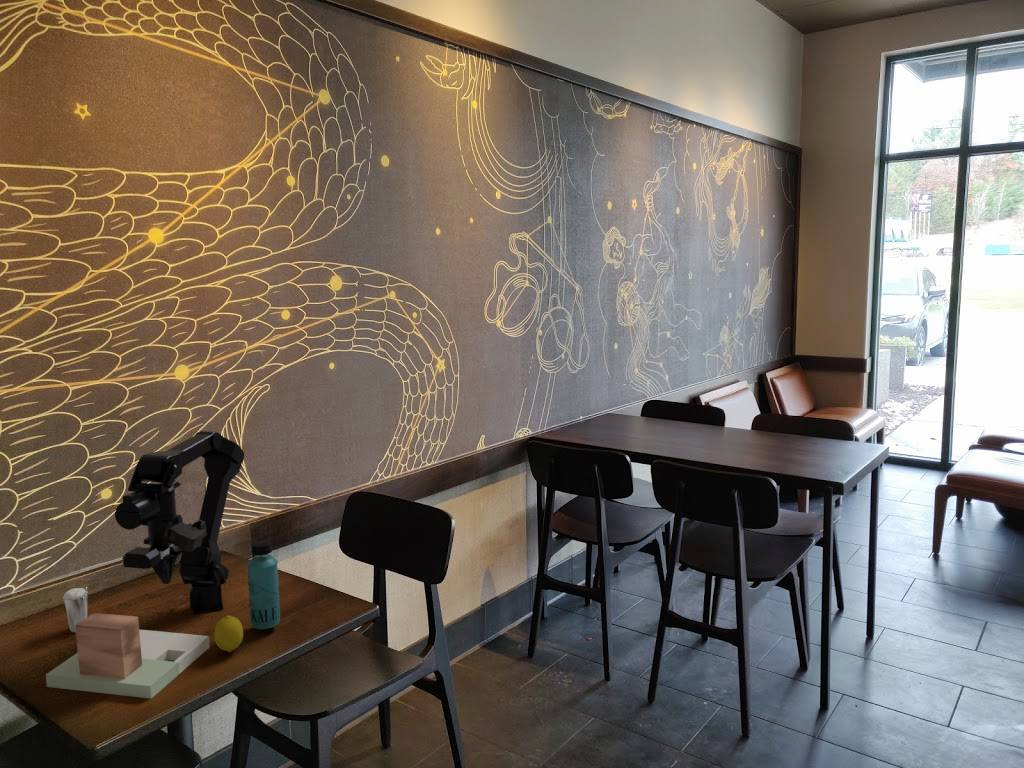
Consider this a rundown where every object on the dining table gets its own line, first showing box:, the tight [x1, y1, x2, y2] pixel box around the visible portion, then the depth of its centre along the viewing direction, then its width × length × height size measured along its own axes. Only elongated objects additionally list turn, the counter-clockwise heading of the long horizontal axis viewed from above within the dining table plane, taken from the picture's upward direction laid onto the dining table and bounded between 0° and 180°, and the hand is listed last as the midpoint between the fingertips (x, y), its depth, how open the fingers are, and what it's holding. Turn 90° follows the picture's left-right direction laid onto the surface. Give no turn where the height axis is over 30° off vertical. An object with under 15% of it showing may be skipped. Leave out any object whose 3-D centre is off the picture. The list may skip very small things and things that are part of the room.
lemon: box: [214, 615, 244, 653], centre depth 155 cm, size 6×6×8 cm
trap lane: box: [45, 628, 211, 700], centre depth 150 cm, size 19×22×2 cm
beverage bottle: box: [246, 540, 282, 630], centre depth 163 cm, size 6×7×20 cm
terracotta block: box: [75, 612, 142, 679], centre depth 143 cm, size 5×10×10 cm, turn 80°
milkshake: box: [63, 586, 89, 633], centre depth 164 cm, size 5×5×10 cm
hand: (166, 583), depth 160 cm, fingers closed
